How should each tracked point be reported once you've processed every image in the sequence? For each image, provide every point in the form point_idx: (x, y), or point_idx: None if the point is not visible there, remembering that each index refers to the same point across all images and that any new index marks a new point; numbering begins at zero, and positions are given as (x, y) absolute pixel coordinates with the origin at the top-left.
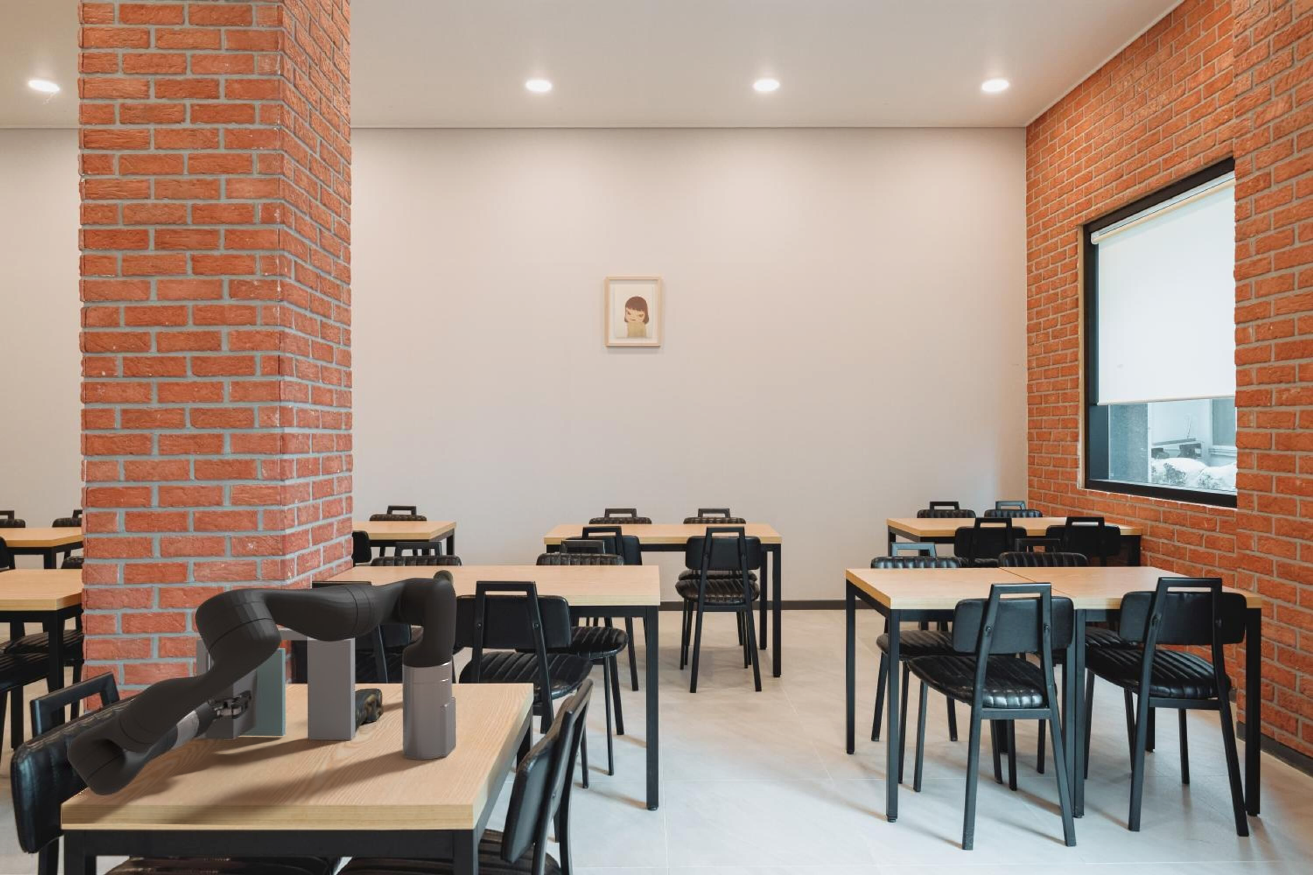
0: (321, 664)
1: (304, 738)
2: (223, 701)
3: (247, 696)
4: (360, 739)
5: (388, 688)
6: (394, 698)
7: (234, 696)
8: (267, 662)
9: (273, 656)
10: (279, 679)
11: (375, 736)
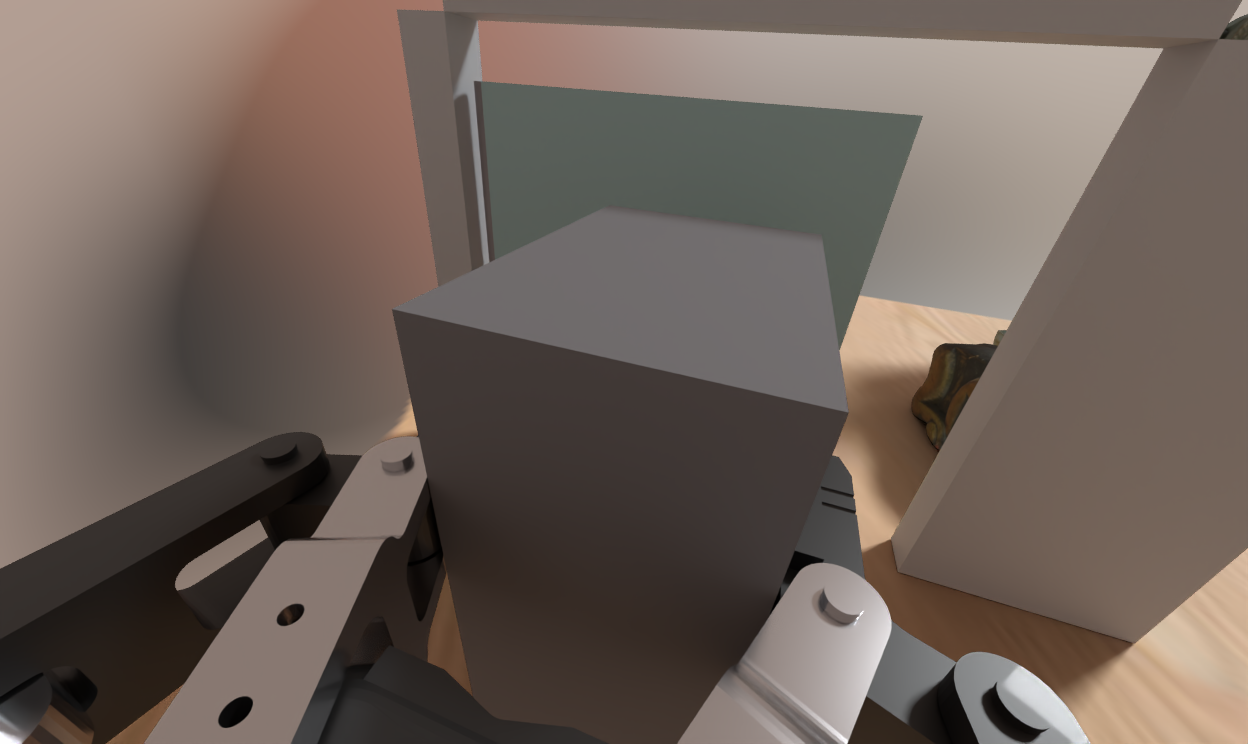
0: (1220, 263)
1: (872, 555)
2: (632, 593)
3: (1039, 701)
4: (1183, 652)
5: (862, 305)
6: (926, 346)
7: (808, 626)
8: (789, 196)
9: (840, 161)
10: (837, 304)
11: (1222, 631)
